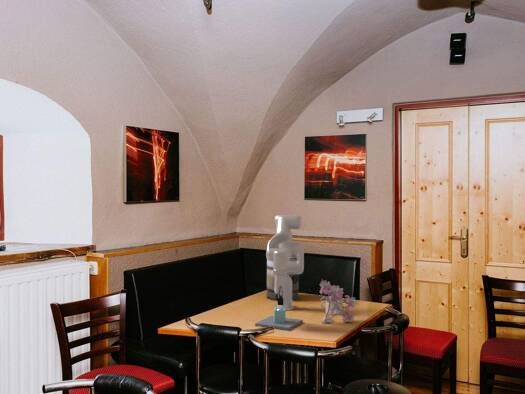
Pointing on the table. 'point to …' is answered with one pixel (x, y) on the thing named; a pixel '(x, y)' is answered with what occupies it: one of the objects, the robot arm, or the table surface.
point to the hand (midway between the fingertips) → (279, 302)
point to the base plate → (286, 326)
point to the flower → (336, 302)
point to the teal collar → (279, 315)
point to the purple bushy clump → (328, 306)
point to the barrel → (271, 282)
